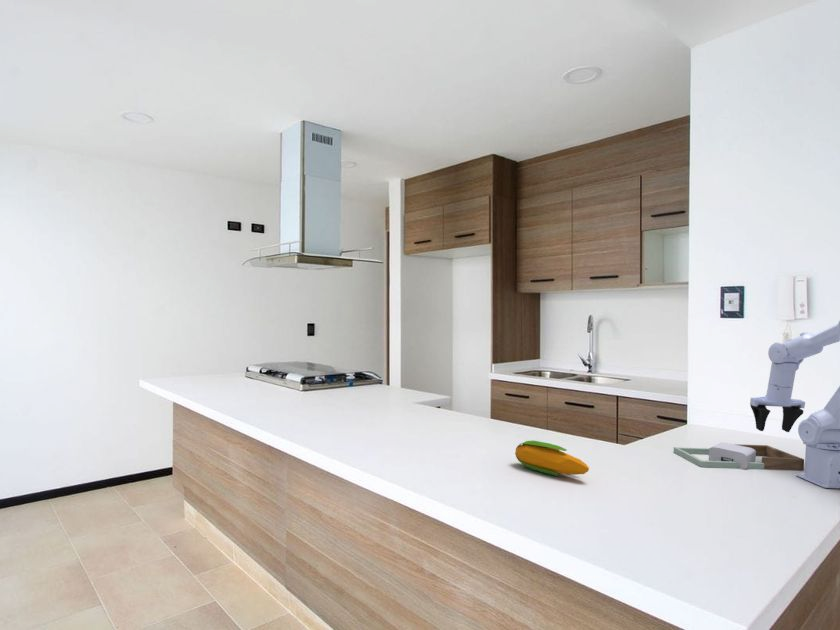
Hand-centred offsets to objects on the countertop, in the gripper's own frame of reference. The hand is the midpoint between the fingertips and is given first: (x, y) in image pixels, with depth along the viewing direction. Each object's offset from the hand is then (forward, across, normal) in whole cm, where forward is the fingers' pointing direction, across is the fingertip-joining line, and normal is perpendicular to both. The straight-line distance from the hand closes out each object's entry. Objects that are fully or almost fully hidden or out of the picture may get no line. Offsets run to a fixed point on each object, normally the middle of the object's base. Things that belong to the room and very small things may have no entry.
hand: (772, 430), depth 144 cm
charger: (+10, +11, +2) cm, 15 cm away
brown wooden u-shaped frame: (+9, +2, +2) cm, 9 cm away
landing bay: (+9, +16, +2) cm, 19 cm away
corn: (+7, +69, +18) cm, 71 cm away
